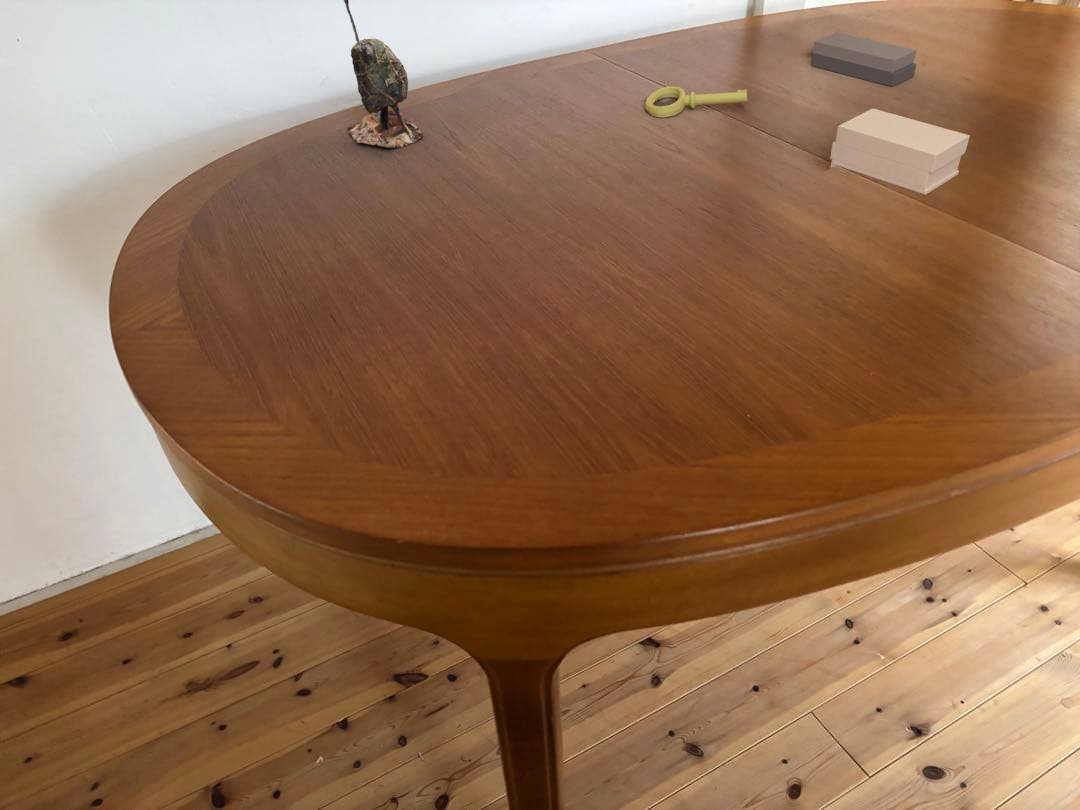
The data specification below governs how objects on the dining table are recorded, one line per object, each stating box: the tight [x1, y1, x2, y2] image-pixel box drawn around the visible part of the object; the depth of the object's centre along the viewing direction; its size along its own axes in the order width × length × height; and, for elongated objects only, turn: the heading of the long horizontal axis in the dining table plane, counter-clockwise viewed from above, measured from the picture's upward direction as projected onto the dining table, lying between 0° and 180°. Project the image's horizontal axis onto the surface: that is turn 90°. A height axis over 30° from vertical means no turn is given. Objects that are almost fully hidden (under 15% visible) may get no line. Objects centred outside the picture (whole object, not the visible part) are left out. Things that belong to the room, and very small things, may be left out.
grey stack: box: [810, 31, 917, 87], centre depth 114 cm, size 12×5×3 cm, turn 42°
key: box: [644, 85, 748, 118], centre depth 108 cm, size 7×12×2 cm, turn 95°
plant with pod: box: [343, 0, 424, 149], centre depth 98 cm, size 8×11×20 cm
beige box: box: [829, 108, 971, 195], centre depth 88 cm, size 11×6×5 cm, turn 42°
